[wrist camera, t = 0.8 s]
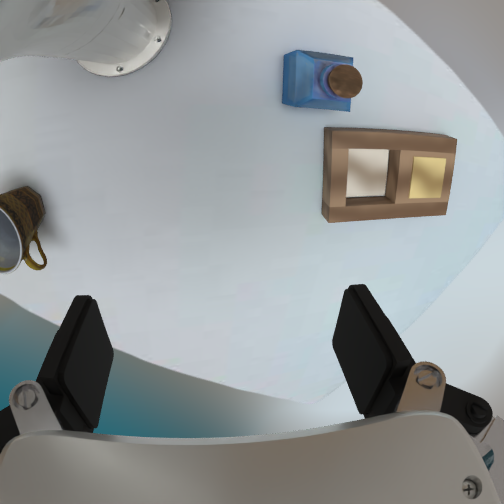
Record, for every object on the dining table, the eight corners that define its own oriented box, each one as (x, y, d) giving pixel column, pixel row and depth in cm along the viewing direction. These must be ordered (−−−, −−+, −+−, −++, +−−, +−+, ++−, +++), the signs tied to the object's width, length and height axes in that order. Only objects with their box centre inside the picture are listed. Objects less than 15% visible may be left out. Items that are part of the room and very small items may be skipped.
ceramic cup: (-5, 215, 36) (-40, 246, 28) (15, 161, 33) (-26, 185, 25) (55, 260, 42) (29, 300, 33) (81, 211, 39) (51, 246, 30)
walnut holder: (324, 127, 37) (332, 131, 34) (444, 134, 38) (457, 139, 36) (321, 213, 43) (329, 223, 40) (435, 207, 45) (446, 215, 42)
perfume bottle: (282, 103, 35) (310, 111, 25) (283, 55, 32) (313, 43, 22) (330, 106, 36) (374, 118, 25) (332, 60, 33) (378, 54, 22)
